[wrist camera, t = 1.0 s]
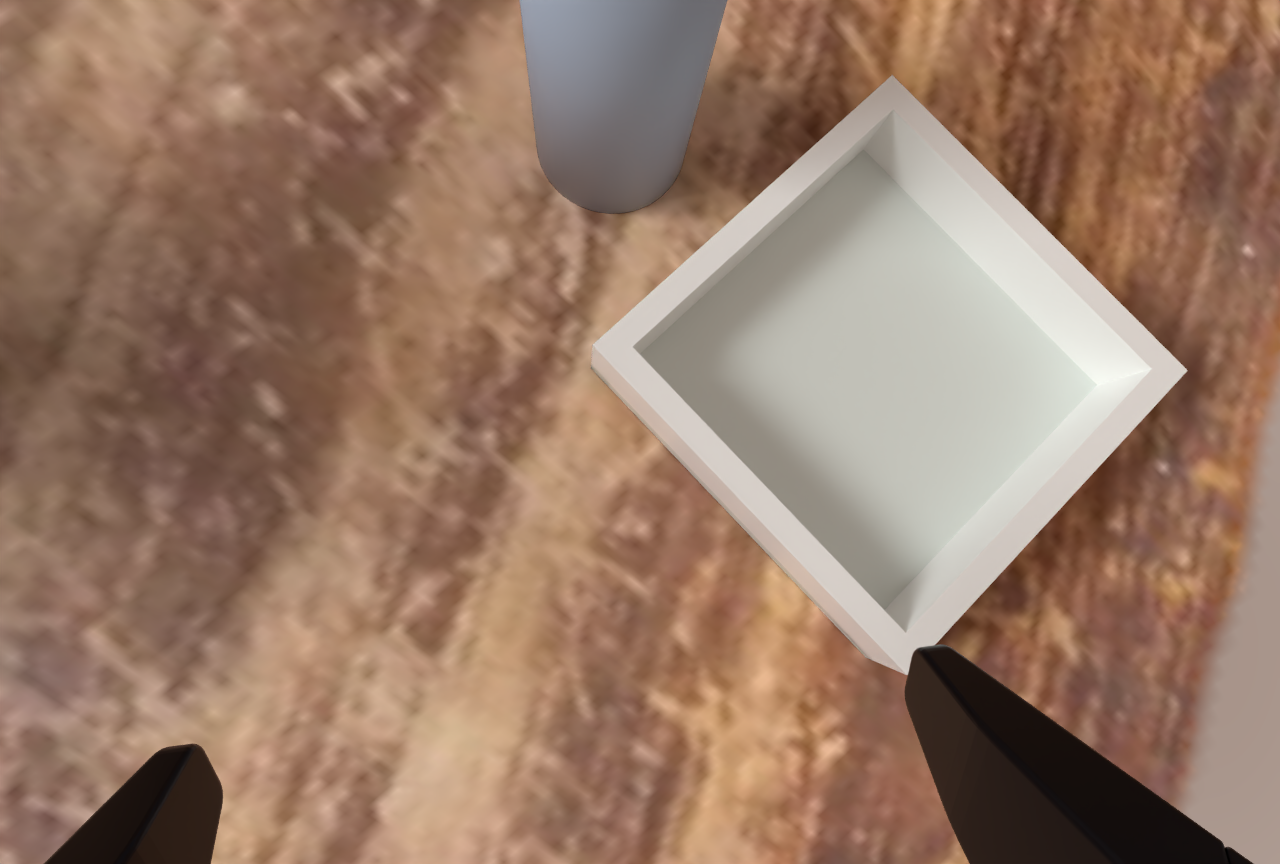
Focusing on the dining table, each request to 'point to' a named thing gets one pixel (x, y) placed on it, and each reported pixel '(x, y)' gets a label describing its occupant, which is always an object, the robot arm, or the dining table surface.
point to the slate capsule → (616, 93)
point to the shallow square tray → (887, 374)
